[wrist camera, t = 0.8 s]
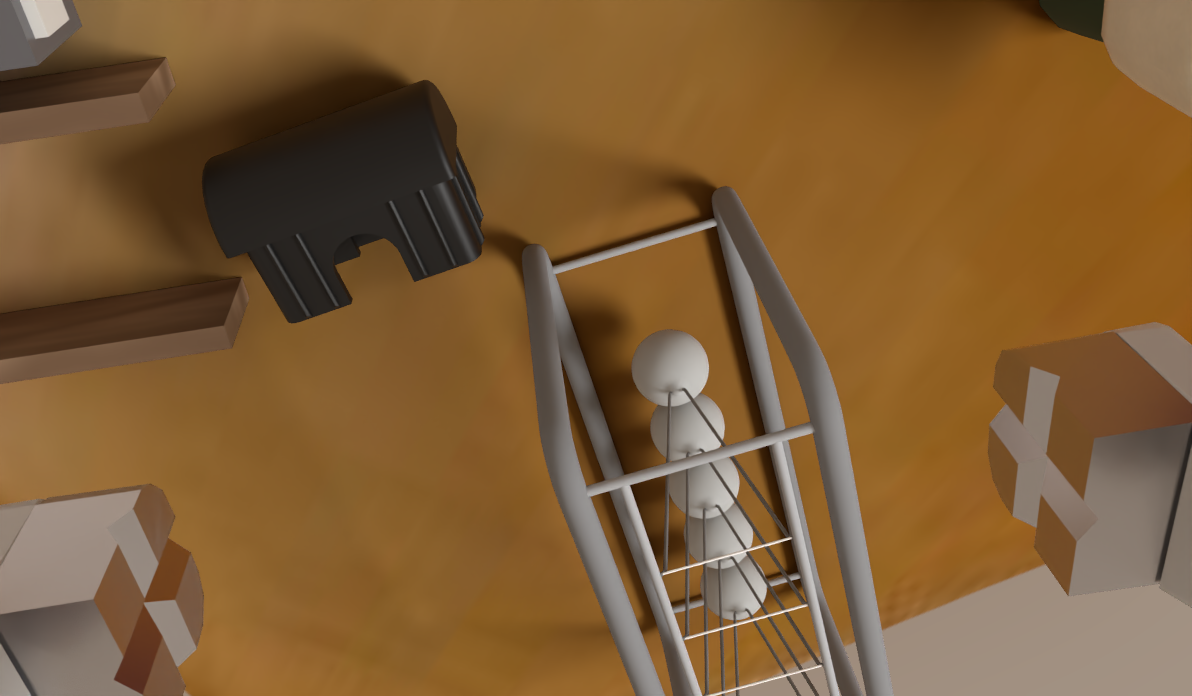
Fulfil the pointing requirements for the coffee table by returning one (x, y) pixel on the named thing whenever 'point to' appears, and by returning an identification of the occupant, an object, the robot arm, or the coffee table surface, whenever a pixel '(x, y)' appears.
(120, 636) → the robot arm
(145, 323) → the walnut organizer
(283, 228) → the end cap
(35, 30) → the block
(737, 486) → the newton's cradle
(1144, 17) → the character mug
